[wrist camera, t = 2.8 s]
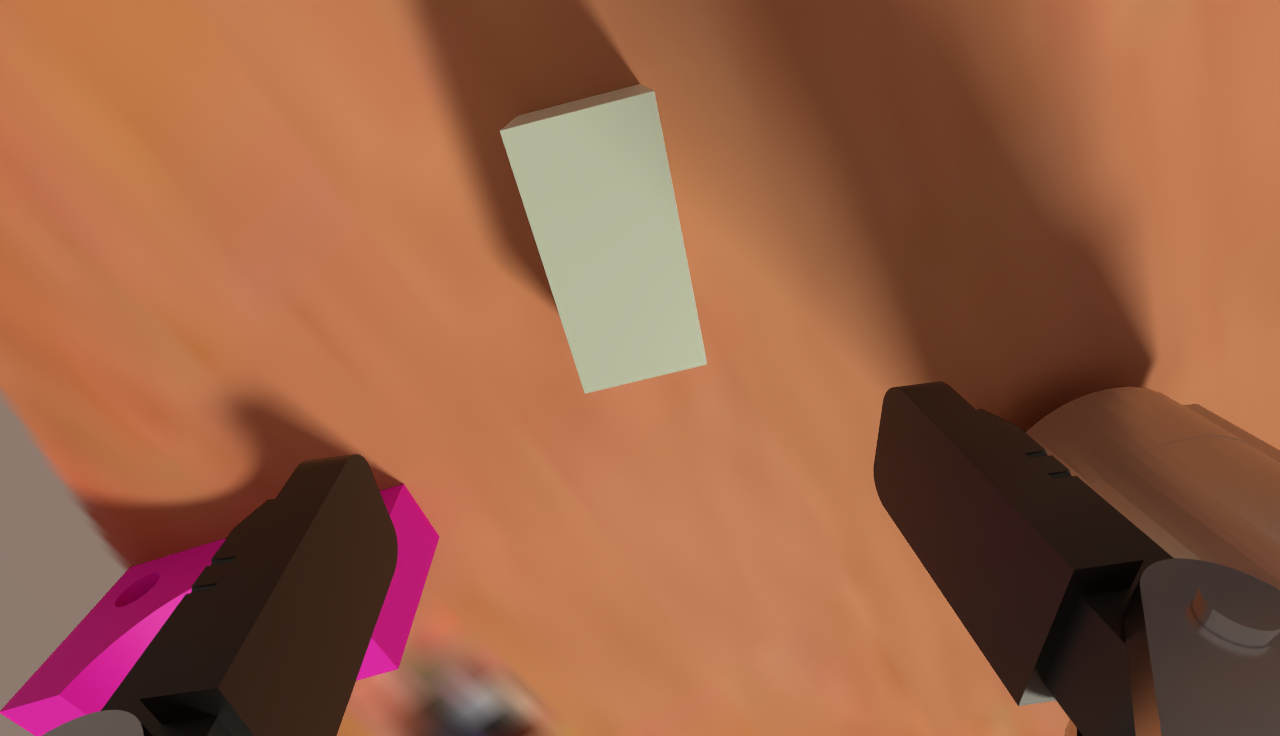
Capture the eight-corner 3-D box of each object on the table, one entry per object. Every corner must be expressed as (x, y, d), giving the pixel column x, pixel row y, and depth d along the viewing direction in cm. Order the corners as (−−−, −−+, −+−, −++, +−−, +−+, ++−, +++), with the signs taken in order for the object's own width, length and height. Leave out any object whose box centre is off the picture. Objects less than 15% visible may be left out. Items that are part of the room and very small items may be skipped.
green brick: (639, 83, 20) (654, 91, 16) (685, 309, 25) (707, 364, 20) (518, 115, 20) (499, 130, 16) (585, 334, 25) (584, 393, 20)
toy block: (213, 638, 32) (115, 788, 25) (133, 564, 29) (-2, 712, 22) (461, 565, 31) (427, 702, 24) (404, 480, 28) (348, 611, 21)
